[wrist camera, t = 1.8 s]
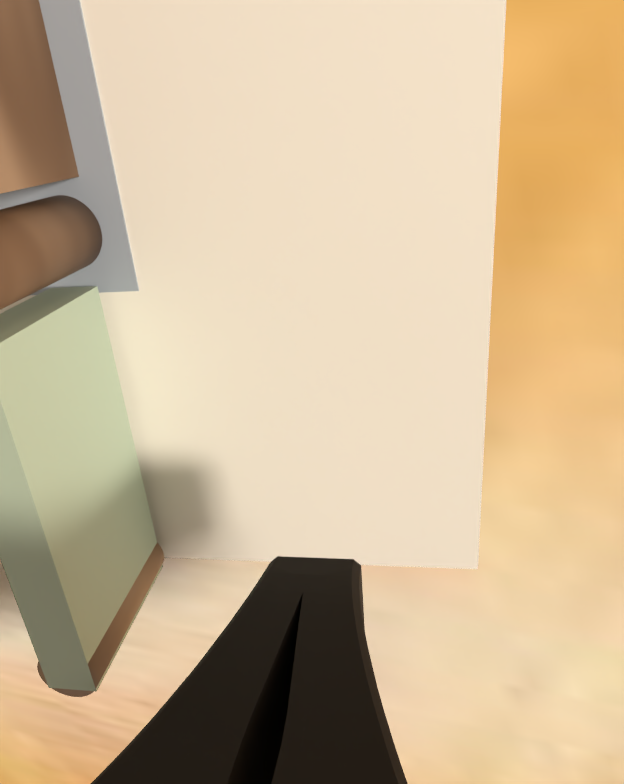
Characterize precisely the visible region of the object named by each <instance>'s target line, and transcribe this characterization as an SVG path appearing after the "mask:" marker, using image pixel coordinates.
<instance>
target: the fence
mask: <svg viewBox="0 0 624 784" xmlns="http://www.w3.org/2000/svg"><path fill="white" fill-rule="evenodd" d="M75 177H79V174H78V170H77V165H76V161H75V156H74V152H73V148H72V143H71V139H70V135H69V130H68V126H67V121H66V117H65V113H64V108H63V104H62V100H61V95H60V91H59V86H58V82H57V78H56V73H55V69H54V65H53V60H52V56H51V51H50V47H49V43H48V38H47V34H46V30H45V25H44V21H43V16H42V12H41V8H40V3H39V0H0V194H1V193H6V192H10V191H15V190H20V189H24V188H29V187H34V186H38V185H43V184H47V183H52V182H57V181H61V180H66V179H70V178H75ZM101 247H102V232H101V228H100V225H99V222H98V220H97V219H96V217H95V215H94V214H93V212H92V211H91V210H90V209H89V208H88V207H87V206H86V205H85V204H83V203H82V202H81V201H79V200H77V199H75V198H73V197H70V196H65V195H56V196H51V197H48V198H44V199H40V200H36V201H32V202H28V203H24V204H20V205H16V206H12V207H8V208H5V209H1V210H0V310H1V309H3V308H5V307H7V306H9V305H11V304H13V303H15V302H17V301H19V300H21V299H23V298H25V297H27V296H29V295H31V294H33V293H35V292H37V291H39V290H41V289H43V288H45V287H47V286H49V285H51V284H53V283H55V282H57V281H59V280H60V279H62V278H64V277H66V276H68V275H70V274H72V273H74V272H76V271H78V270H80V269H82V268H84V267H86V266H88V265H90V264H91V263H93V262H94V261H95V260H96V258H97V257H98V255H99V253H100V251H101Z"/></svg>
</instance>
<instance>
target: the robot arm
mask: <svg viewBox="0 0 624 784" xmlns="http://www.w3.org/2000/svg"><path fill="white" fill-rule="evenodd" d="M91 784H407V781H406V778H405V775H404V772H403V769H402V767H401V764H400V761H399V758H398V755H397V752H396V749H395V746H394V742H393V739H392V736H391V733H390V729H389V726H388V723H387V720H386V716H385V713H384V710H383V706H382V703H381V699H380V695H379V692H378V688H377V684H376V680H375V676H374V672H373V668H372V663H371V659H370V655H369V651H368V646H367V641H366V636H365V630H364V612H363V594H362V576H361V565H360V564H359V563H357V562H356V561H355V560H354V559H337V558H309V557H282V556H277V557H276V558H275V559H274V560H272V561H271V563H270V564H269V566H268V567H267V569H266V570H265V572H264V573H263V575H262V577H261V578H260V580H259V581H258V583H257V584H256V586H255V587H254V589H253V590H252V591H251V593H250V594H249V596H248V597H247V599H246V600H245V602H244V603H243V604H242V606H241V607H240V609H239V610H238V612H237V613H236V614H235V616H234V617H233V619H232V620H231V621H230V623H229V624H228V625H227V627H226V628H225V629H224V631H223V632H222V633H221V635H220V636H219V637H218V639H217V640H216V641H215V642H214V644H213V645H212V646H211V648H210V649H209V650H208V652H207V653H206V654H205V656H204V657H203V658H202V660H201V661H200V662H199V663H198V665H197V666H196V667H195V668H194V670H193V671H192V672H191V673H190V675H189V676H188V677H187V678H186V679H185V681H184V682H183V683H182V684H181V685H180V686H179V688H178V689H177V690H176V691H175V692H174V694H173V695H172V696H171V697H170V698H169V699H168V701H167V702H166V703H165V704H164V705H163V707H162V708H161V709H160V710H159V711H158V713H157V714H156V715H155V716H154V717H153V718H152V719H151V721H150V722H149V723H148V724H147V725H146V726H145V727H144V728H143V729H142V731H141V732H140V733H139V734H138V735H137V736H136V737H135V738H134V739H133V740H132V742H131V743H130V744H129V745H128V746H127V747H126V748H125V749H124V750H123V751H122V752H121V753H120V754H119V755H118V756H117V757H116V758H115V759H114V761H113V762H112V763H111V764H110V765H109V766H108V767H107V768H106V769H105V770H104V771H103V772H102V773H101V774H100V775H99V776H98V777H97V778H96V779H95V780H94V781H93V782H92V783H91Z"/></svg>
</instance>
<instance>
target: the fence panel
mask: <svg viewBox="0 0 624 784" xmlns="http://www.w3.org/2000/svg"><path fill="white" fill-rule="evenodd" d="M0 559H1V562H2V565H3V567H4V570H5V573H6V575H7V578H8V581H9V583H10V586H11V589H12V591H13V594H14V597H15V599H16V602H17V605H18V607H19V610H20V613H21V615H22V618H23V620H24V623H25V626H26V628H27V631H28V634H29V636H30V639H31V642H32V644H33V647H34V650H35V652H36V655H37V658H38V660H39V662H38V666H37V668H38V672H39V675H40V677H41V678H42V680H43V681H44V682H45V683H46V684H47V685H48V687H49V688H52V689H54V690H55V691H57V692H59V693H62V694H65V695H68V696H74V697H82V696H87V695H89V694H91V693H92V692H94V691H97V690H98V688H99V686H100V684H101V682H102V680H103V678H104V676H105V674H106V673H107V671H108V669H109V667H110V665H111V663H112V661H113V659H114V657H115V656H116V654H117V652H118V650H119V648H120V646H121V644H122V642H123V640H124V638H125V637H126V635H127V633H128V631H129V629H130V627H131V625H132V623H133V621H134V620H135V618H136V616H137V614H138V612H139V610H140V608H141V606H142V604H143V603H144V601H145V599H146V597H147V595H148V593H149V591H150V589H151V587H152V586H153V584H154V582H155V580H156V578H157V576H158V574H159V572H160V570H161V569H162V567H163V565H162V563H163V561H164V553H163V550H162V548H161V546H160V545H159V544H158V543H157V539H156V535H155V531H154V527H153V522H152V518H151V514H150V510H149V505H148V501H147V497H146V492H145V488H144V484H143V480H142V475H141V471H140V467H139V462H138V458H137V454H136V450H135V445H134V441H133V437H132V432H131V428H130V424H129V420H128V415H127V411H126V407H125V402H124V398H123V394H122V390H121V385H120V381H119V377H118V372H117V368H116V364H115V360H114V355H113V351H112V347H111V343H110V338H109V334H108V330H107V325H106V321H105V317H104V313H103V308H102V304H101V300H100V295H99V291H98V287H97V286H87V287H63V288H49V289H48V290H46V291H44V292H42V293H40V294H38V295H36V296H34V297H32V298H30V299H28V300H26V301H24V302H22V303H20V304H18V305H16V306H14V307H12V308H10V309H8V310H7V311H5V312H3V313H1V314H0Z"/></svg>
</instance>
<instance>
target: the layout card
mask: <svg viewBox="0 0 624 784" xmlns="http://www.w3.org/2000/svg"><path fill="white" fill-rule="evenodd" d="M39 3H40V8H41V12H42V16H43V21H44V25H45V30H46V34H47V38H48V43H49V47H50V51H51V56H52V60H53V65H54V69H55V73H56V78H57V82H58V86H59V91H60V95H61V100H62V104H63V108H64V113H65V117H66V121H67V126H68V130H69V135H70V139H71V143H72V148H73V152H74V156H75V161H76V165H77V170H78V174H79V177H75V178H70V179H66V180H61V181H57V182H52V183H47V184H43V185H38V186H34V187H29V188H24V189H20V190H15V191H10V192H6V193H1V194H0V210H1V209H5V208H8V207H12V206H16V205H20V204H24V203H28V202H32V201H36V200H40V199H44V198H48V197H51V196H56V195H65V196H70V197H73V198H75V199H77V200H79V201H81V202H82V203H83V204H85V205H86V206H87V207H88V208H89V209H90V210H91V211H92V212H93V214H94V215H95V217H96V219H97V220H98V222H99V225H100V228H101V232H102V247H101V251H100V253H99V255H98V257H97V258H96V260H95V261H94V262H93V263H91V264H90V265H88V266H86V267H84V268H82V269H80V270H78V271H76V272H74V273H72V274H70V275H68V276H66V277H64V278H62V279H60V280H59V281H57V282H55V283H53V284H51V285H49V286H47V287H45V288H43V289H41V290H39V291H37V292H35V293H33V294H31V295H29V296H27V297H25V298H23V299H21V300H19V301H17V302H15V303H13V304H11V305H9V306H7V307H5V308H3V309H1V310H0V314H1V313H3V312H5V311H7V310H8V309H10V308H12V307H14V306H16V305H18V304H20V303H22V302H24V301H26V300H28V299H30V298H32V297H34V296H36V295H38V294H40V293H42V292H44V291H46V290H48V289H49V288H63V287H87V286H97V287H98V291H99V295H100V300H101V304H102V308H103V313H104V317H105V321H106V325H107V330H108V334H109V338H110V343H111V347H112V351H113V355H114V360H115V364H116V368H117V372H118V377H119V381H120V385H121V390H122V394H123V398H124V402H125V407H126V411H127V415H128V420H129V424H130V428H131V432H132V437H133V441H134V445H135V450H136V454H137V458H138V462H139V467H140V471H141V475H142V480H143V484H144V488H145V492H146V497H147V501H148V505H149V510H150V514H151V518H152V522H153V527H154V531H155V535H156V539H157V543H158V544H159V545H160V546H161V548H162V550H163V553H164V558H184V559H211V560H239V561H266V562H271V561H272V560H274V559H275V558H276V557H277V556H282V557H309V558H337V559H354V560H355V561H356V562H357V563H359V564H360V565H376V566H404V567H431V568H459V569H478V555H479V535H480V515H481V495H482V475H483V455H484V436H485V416H486V396H487V376H488V356H489V336H490V316H491V296H492V276H493V256H494V236H495V216H496V196H497V176H498V156H499V136H500V116H501V96H502V76H503V56H504V36H505V16H506V0H39Z"/></svg>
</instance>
